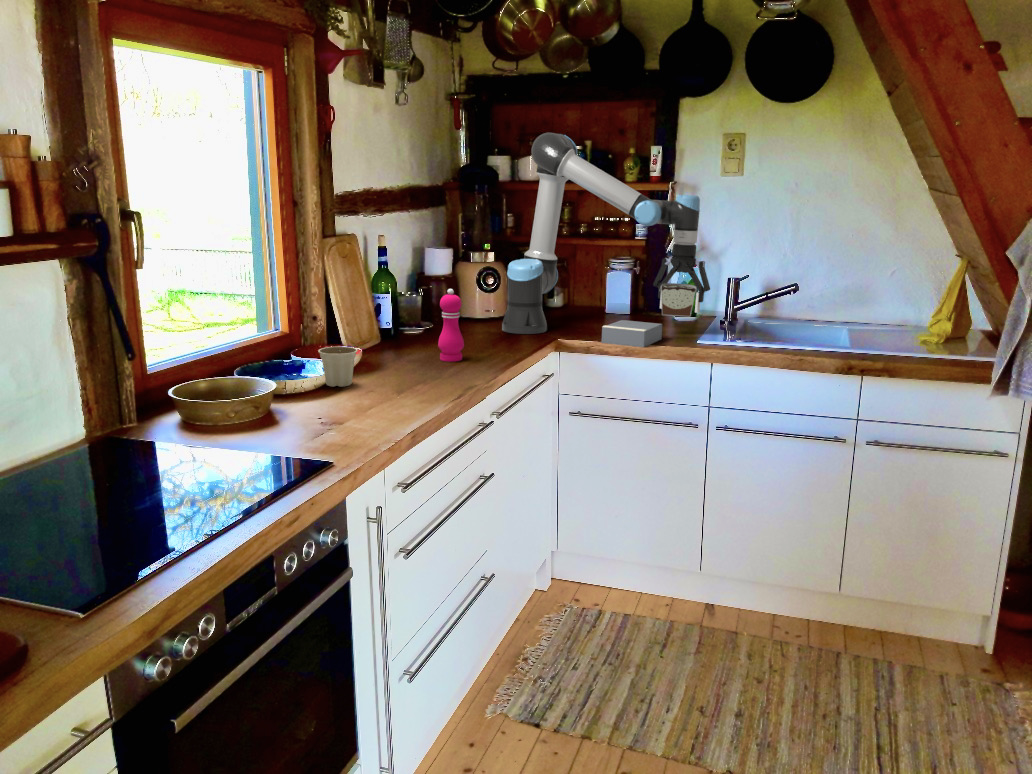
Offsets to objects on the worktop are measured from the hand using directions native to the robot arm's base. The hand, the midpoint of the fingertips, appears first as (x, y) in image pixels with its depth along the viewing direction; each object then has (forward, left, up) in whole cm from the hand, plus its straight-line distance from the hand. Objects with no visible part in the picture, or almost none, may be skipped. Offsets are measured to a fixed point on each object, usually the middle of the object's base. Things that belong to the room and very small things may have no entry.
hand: (679, 310), depth 275 cm
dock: (-9, -20, -8) cm, 23 cm away
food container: (-1, 0, -2) cm, 2 cm away
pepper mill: (-42, -74, -8) cm, 85 cm away
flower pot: (-49, -113, -8) cm, 123 cm away
